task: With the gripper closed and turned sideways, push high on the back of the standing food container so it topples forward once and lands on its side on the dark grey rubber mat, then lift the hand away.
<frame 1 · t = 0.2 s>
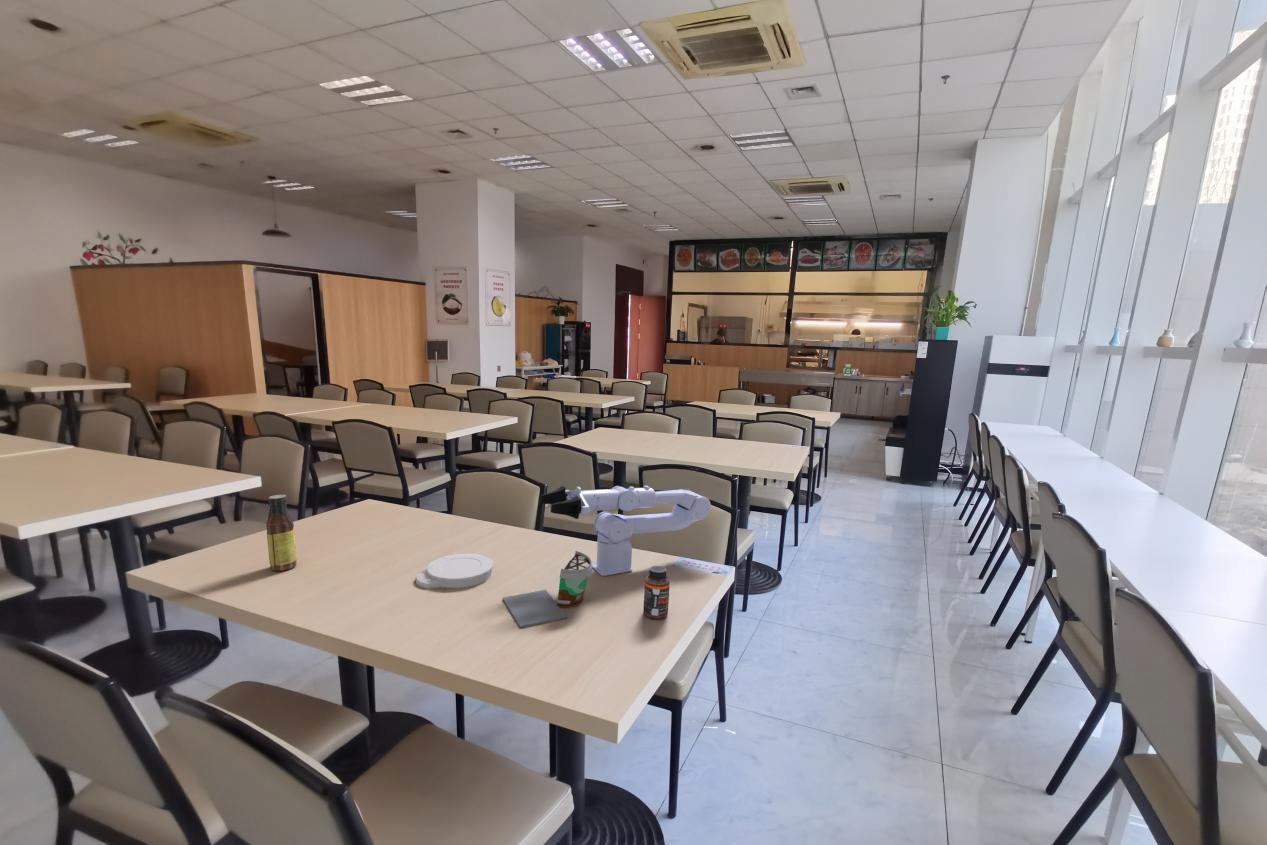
hand: (546, 503, 143), 21 cm above the table, tool horizontal, fingers open, 7 cm apart
sauce bottle: (283, 568, 148), on the table
mat: (533, 608, 131), on the table
lid: (455, 577, 147), on the table
supplement bottle: (655, 614, 130), on the table
food container: (574, 600, 136), on the table
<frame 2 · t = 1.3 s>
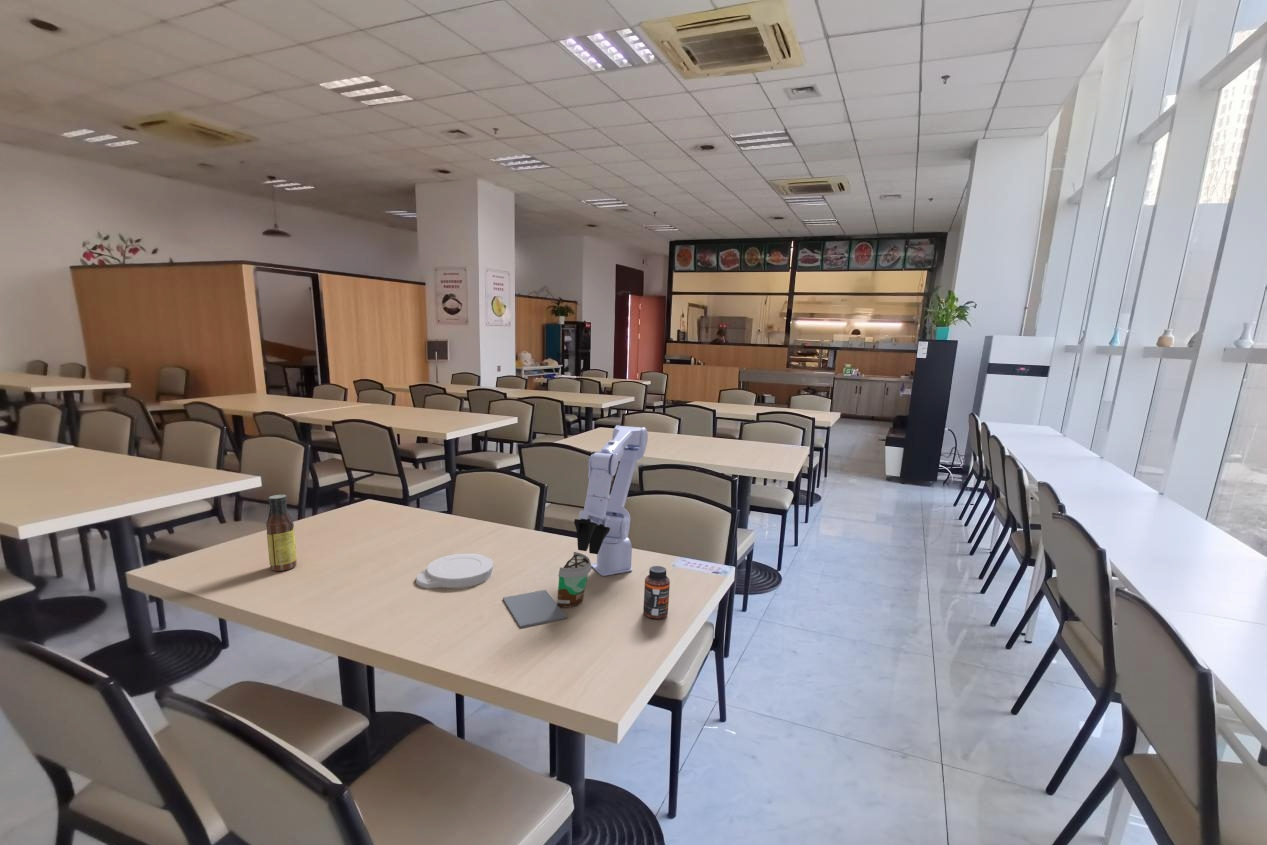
hand: (587, 552, 136), 12 cm above the table, tool tilted 25°, fingers open, 7 cm apart
food container: (574, 600, 136), on the table, touching mat
everything else where it was.
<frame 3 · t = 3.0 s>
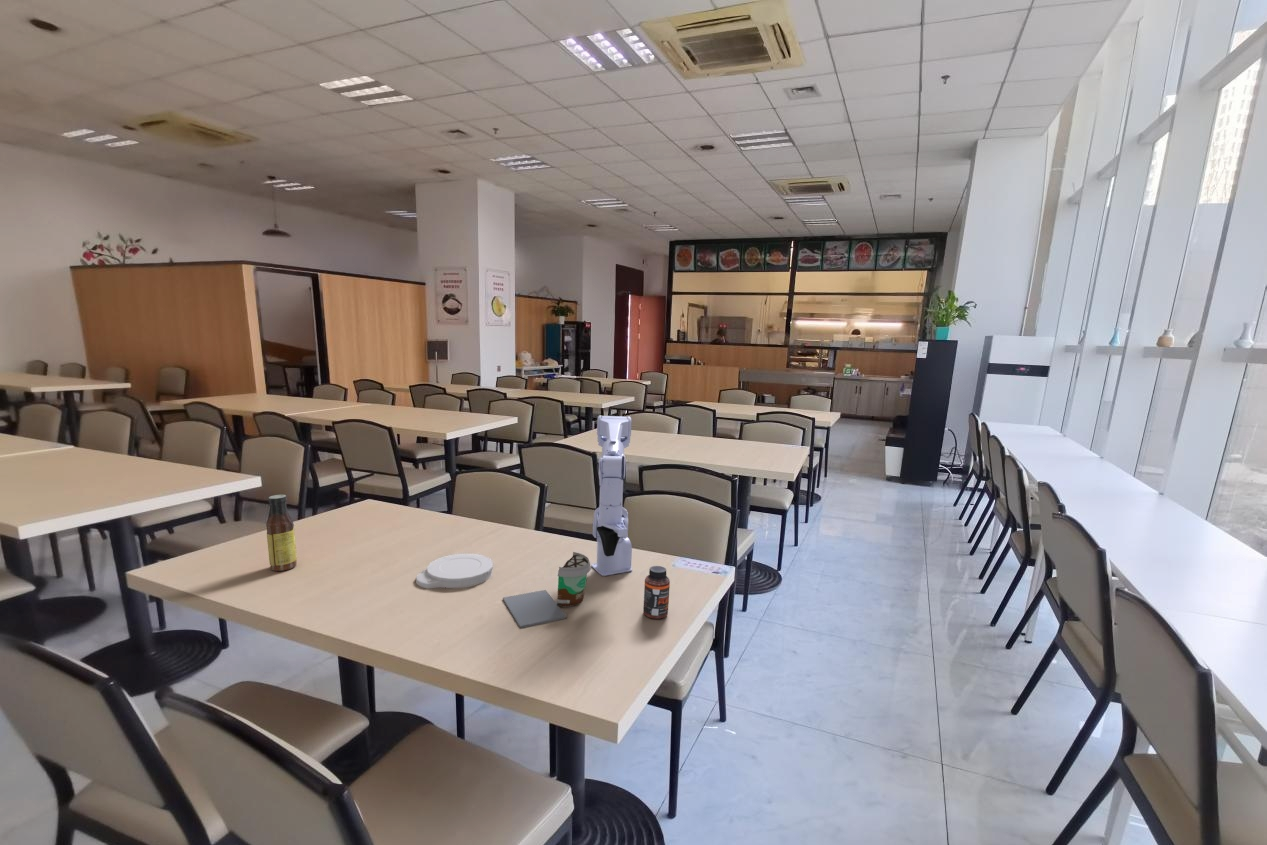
hand: (609, 555, 138), 10 cm above the table, tool pointing down, fingers closed
nothing on the table moved.
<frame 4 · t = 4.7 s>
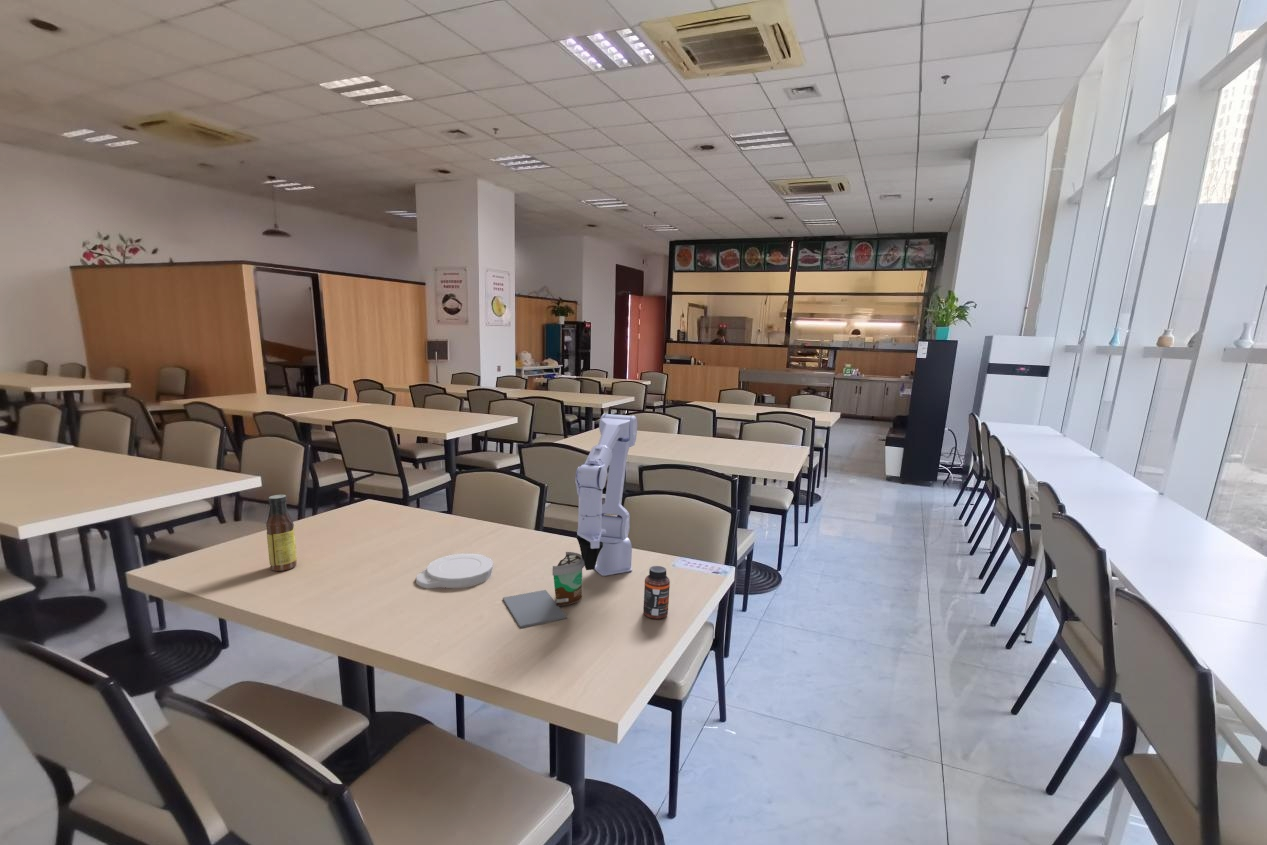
hand: (588, 566, 136), 8 cm above the table, tool pointing down, fingers open, 3 cm apart
food container: (573, 599, 136), on the table, touching gripper, mat
everything else where it was.
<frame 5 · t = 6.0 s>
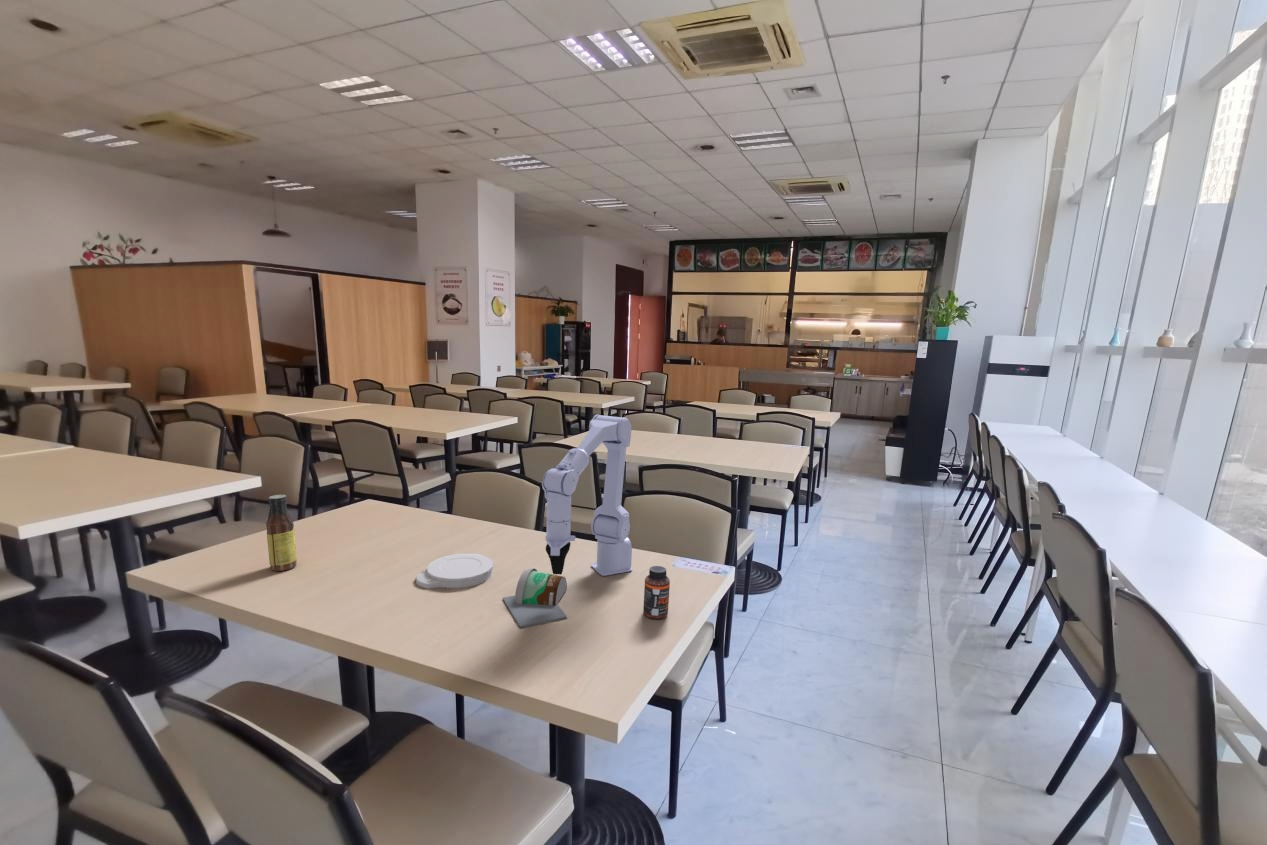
hand: (557, 573, 132), 8 cm above the table, tool pointing down, fingers closed
food container: (562, 585, 136), point 4 cm above the table, touching mat
everything else where it was.
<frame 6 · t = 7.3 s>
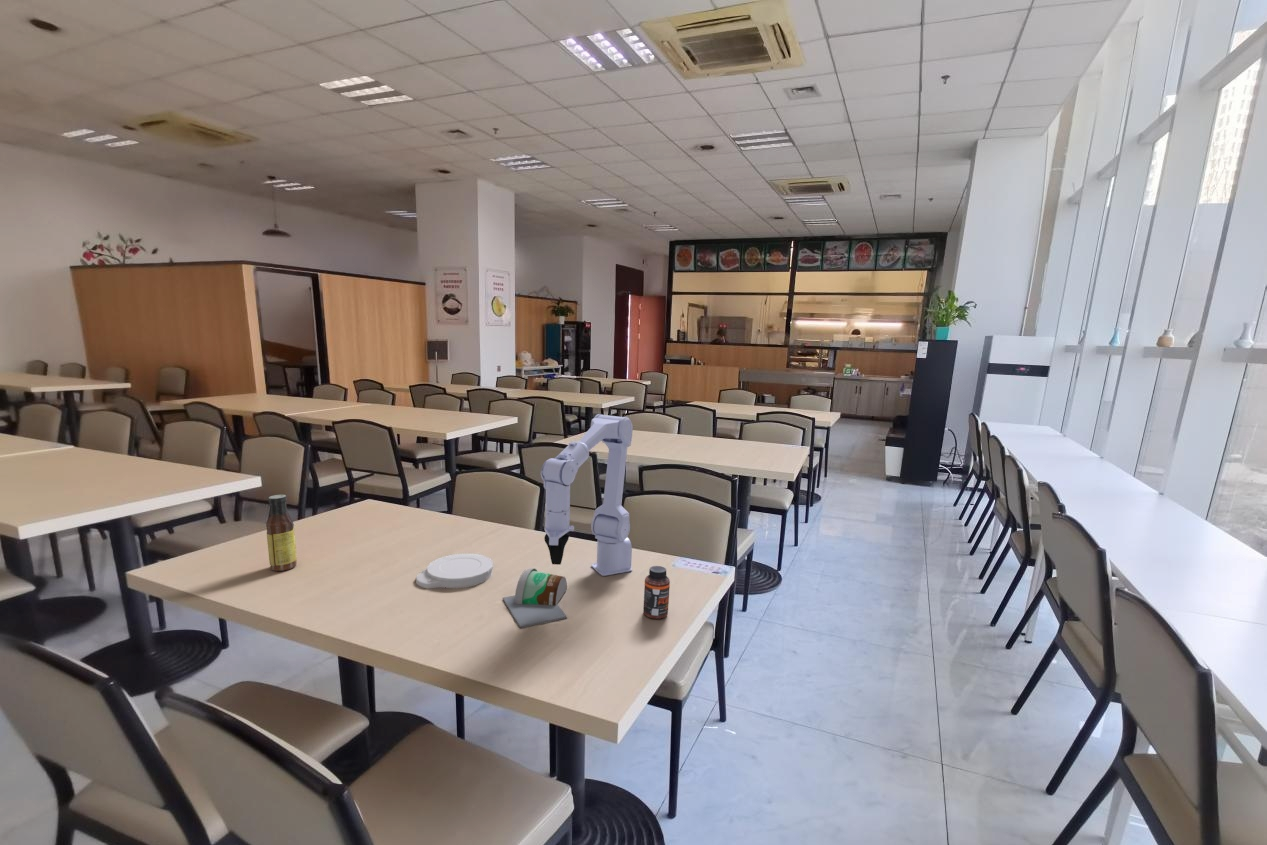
hand: (556, 563, 132), 10 cm above the table, tool pointing down, fingers closed
nothing on the table moved.
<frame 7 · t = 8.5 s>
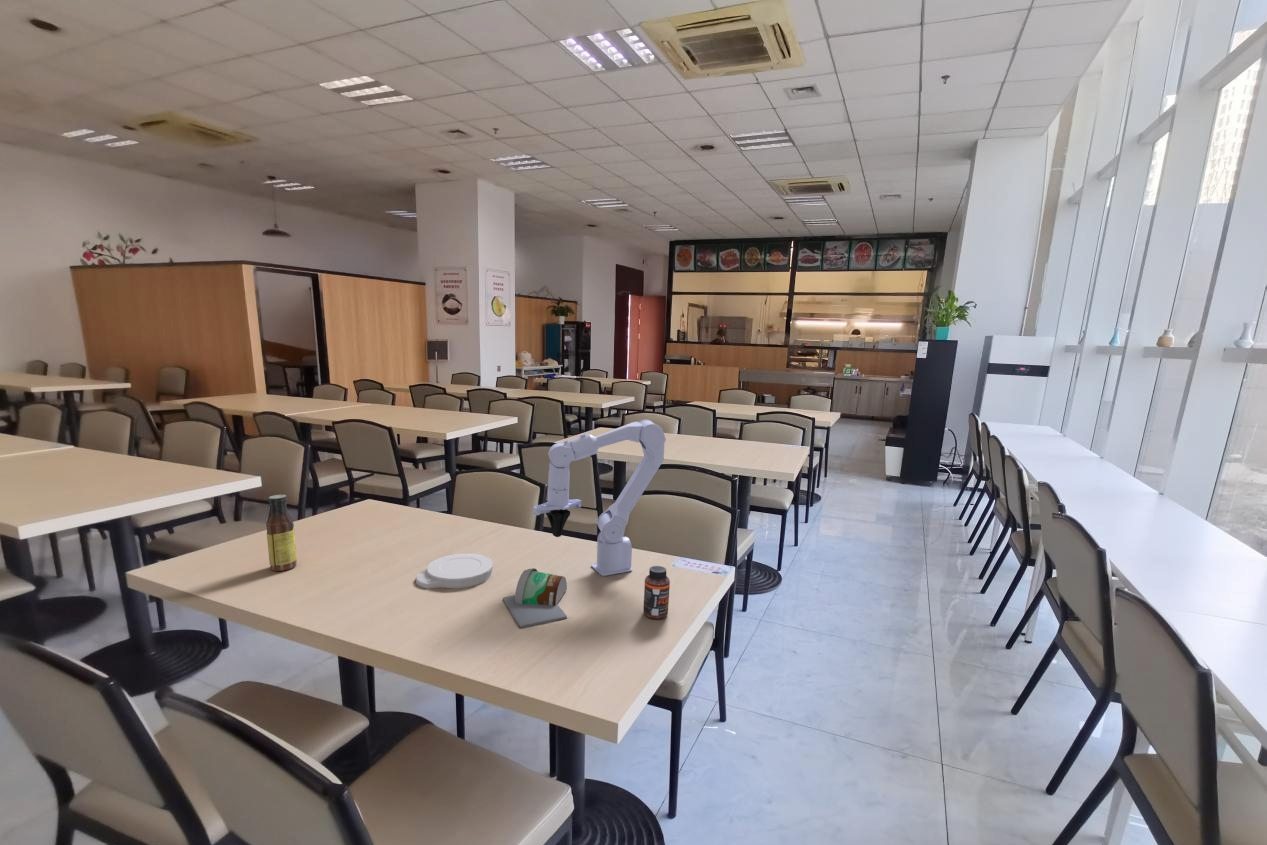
hand: (556, 535, 151), 10 cm above the table, tool pointing down, fingers closed
nothing on the table moved.
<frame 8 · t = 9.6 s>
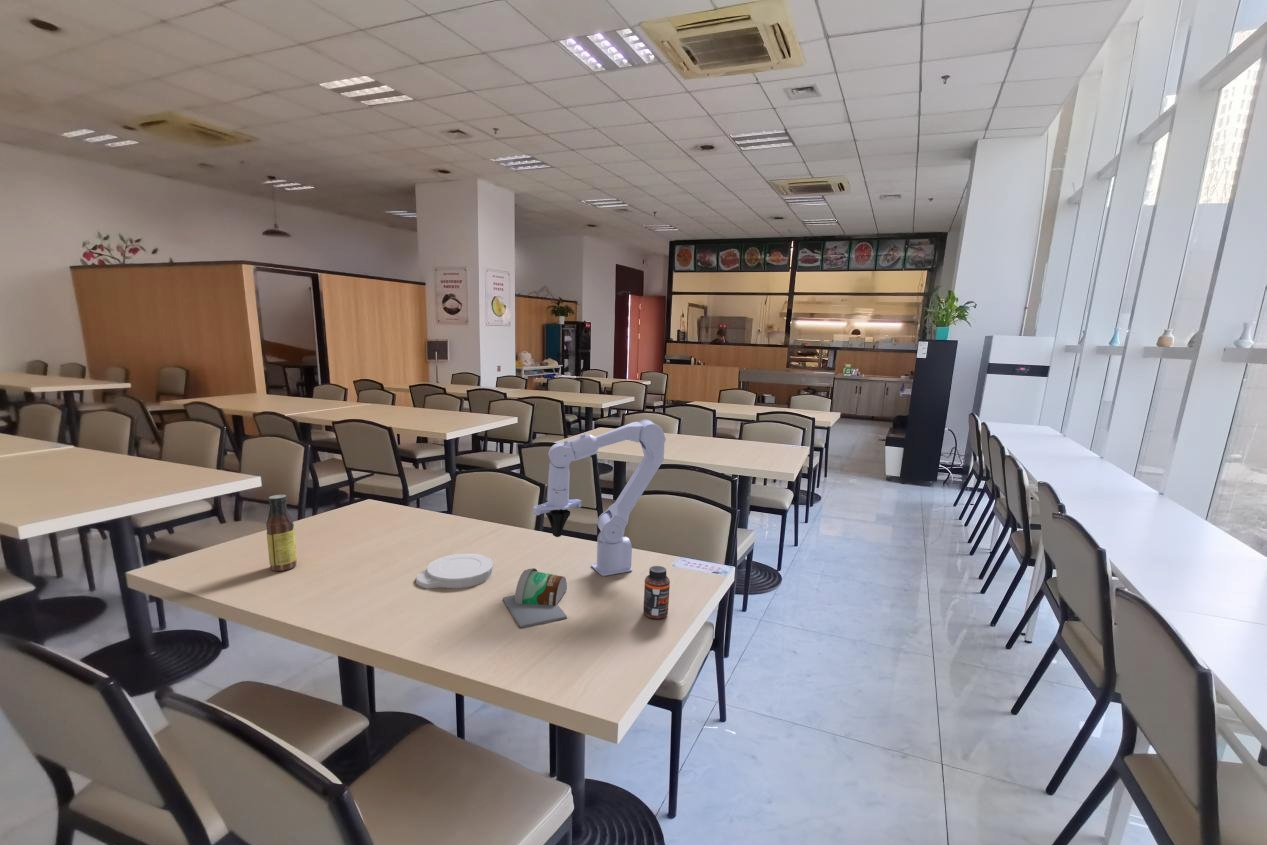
hand: (556, 535, 151), 10 cm above the table, tool pointing down, fingers closed
nothing on the table moved.
at the end: food container tilted 90°; food container inside the target area (4.4 cm from its centre), point 3.6 cm above the table; food container touching mat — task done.
